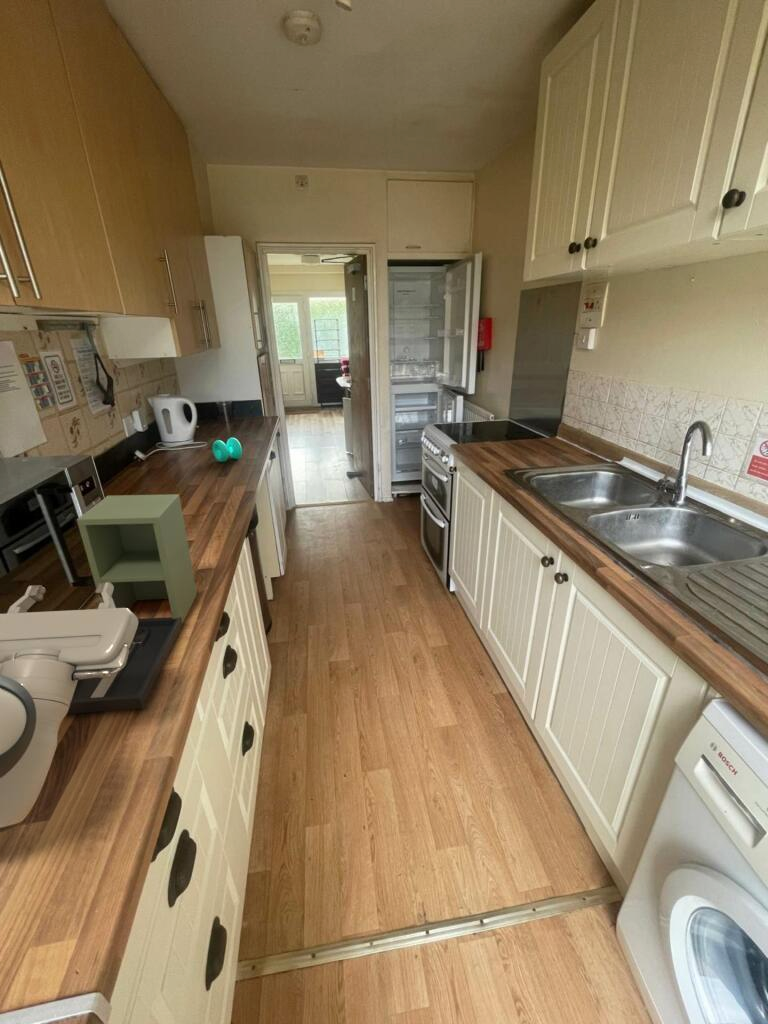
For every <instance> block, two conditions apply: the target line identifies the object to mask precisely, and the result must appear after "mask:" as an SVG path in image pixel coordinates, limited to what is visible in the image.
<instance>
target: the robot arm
mask: <svg viewBox="0 0 768 1024" xmlns="http://www.w3.org/2000/svg"><path fill="white" fill-rule="evenodd" d="M113 589H114V586H113V585H112V584H111V583H110V582H107V583H99V584H98V588H97V589H96V588H95V591H94V593H95V594H96V595H97V596H98V595H99V596H98V598H99V597H100V598H103V600H104V603H100V602H99V604H98V607H97V608H94V609H92V608H91V609H72V610H53V611H51V610H50V611H31V612H28V610H30V609H31V607H32V606H33V605H34V604H35V603H36V602H41V601H43V599H44V597H45V596H44V595H45V594H46V593H47V592H46V587H43V585H42V584H41V585H40V584H39V585H38V584H35V585H29V586H28V587H27V588H26V591H25V593H24V595H22V596H21V597H20V598H18V600H16V601H15V602H14V603H13V604H11V605H10V606H9V608H8V610H7V612H6V613H0V833H4V832H6V831H8V830H11V829H13V828H15V827H16V826H18V825H19V824H20V823H22V822H23V821H24V820H25V819H26V817H27V816H28V815H29V813H31V811H32V809H33V807H34V805H35V803H36V802H37V800H38V798H39V795H40V793H41V791H42V789H43V786H44V784H45V782H46V779H47V776H48V774H49V771H50V769H51V765H52V762H53V759H54V756H55V753H56V750H57V747H58V734H59V729H60V727H61V724H62V723H63V721H64V719H65V718H66V716H67V715H68V714H67V712H68V710H69V707H70V704H71V700H72V697H73V694H74V691H75V688H76V685H77V682H78V680H83V679H91V678H108V677H111V676H112V674H115V673H117V672H119V671H120V670H121V669H122V668H124V666H125V665H126V662H127V658H128V654H129V647H130V645H131V643H132V641H133V638H134V635H135V633H136V630H137V627H138V619H139V618H138V617H137V615H135V613H134V612H133V611H131V609H130V610H129V609H128V608H116V607H115V604H114V602H113V599H112V597H111V596H112V593H113ZM112 669H116V670H114V671H112Z"/></svg>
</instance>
